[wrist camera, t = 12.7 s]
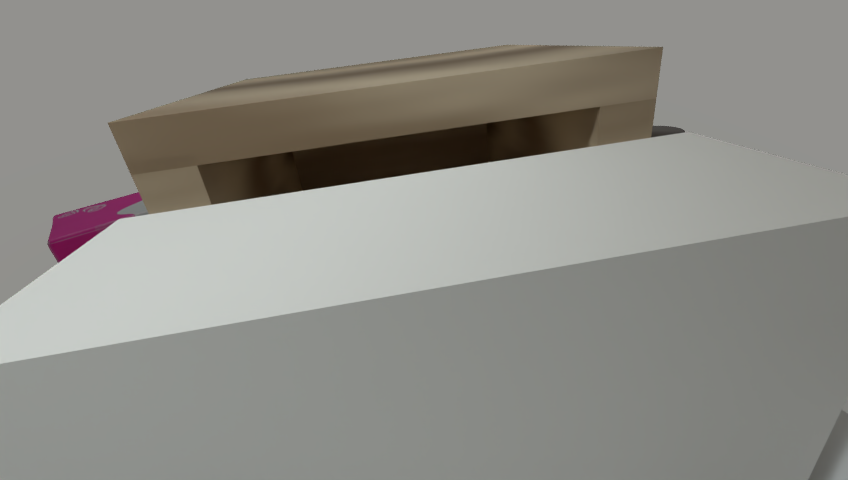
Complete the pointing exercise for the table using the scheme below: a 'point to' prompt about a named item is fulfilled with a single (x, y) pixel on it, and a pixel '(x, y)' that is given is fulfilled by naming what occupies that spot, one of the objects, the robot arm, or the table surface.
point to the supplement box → (90, 223)
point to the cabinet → (388, 121)
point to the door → (450, 328)
